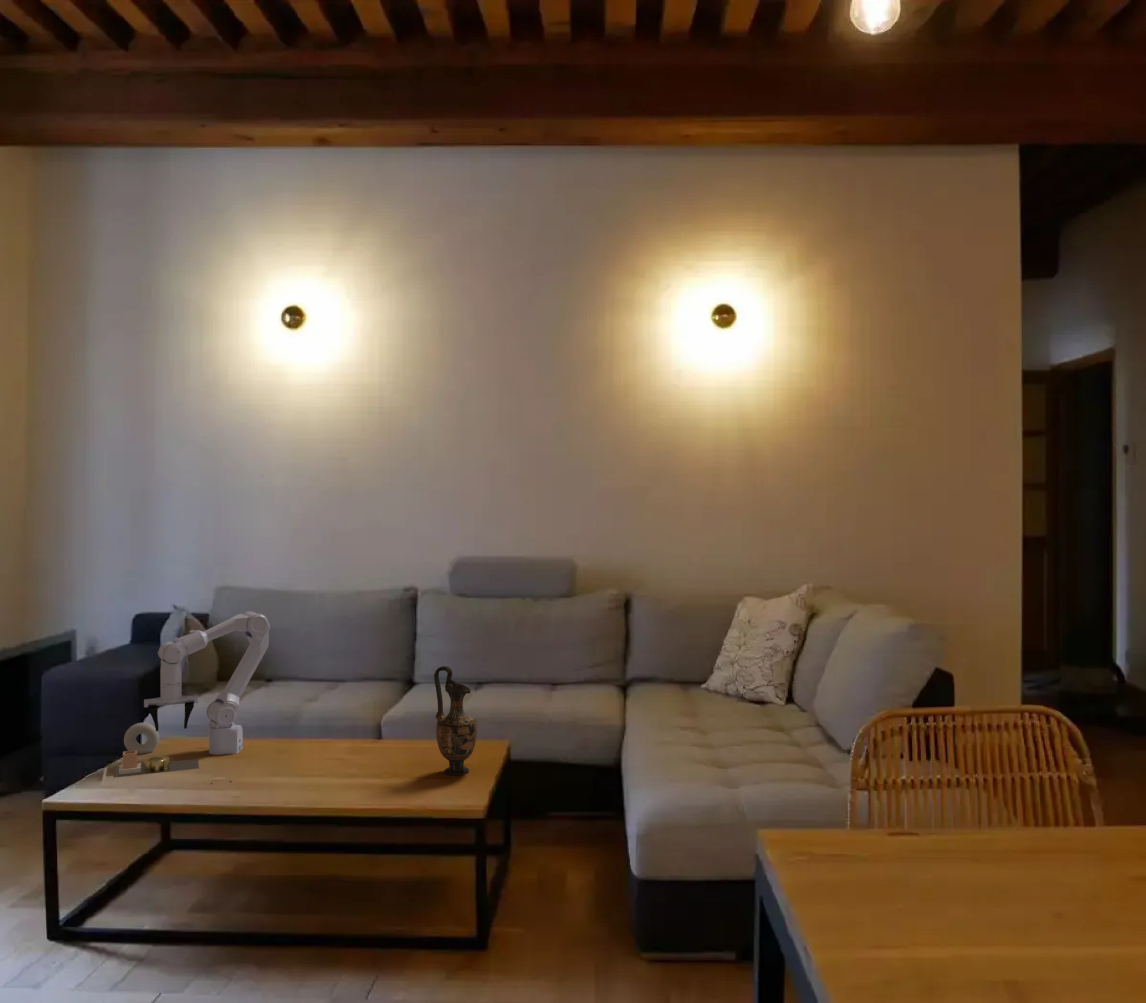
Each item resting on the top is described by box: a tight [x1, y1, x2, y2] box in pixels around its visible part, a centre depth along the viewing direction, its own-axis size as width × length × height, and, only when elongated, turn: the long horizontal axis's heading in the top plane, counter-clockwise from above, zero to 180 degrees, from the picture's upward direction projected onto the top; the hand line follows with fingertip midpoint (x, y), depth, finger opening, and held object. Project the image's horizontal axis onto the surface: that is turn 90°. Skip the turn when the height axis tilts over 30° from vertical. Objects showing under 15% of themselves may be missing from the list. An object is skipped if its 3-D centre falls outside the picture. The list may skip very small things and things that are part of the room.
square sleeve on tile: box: [118, 750, 142, 775], centre depth 267 cm, size 6×6×5 cm
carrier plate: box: [113, 755, 200, 779], centre depth 270 cm, size 22×10×4 cm, turn 114°
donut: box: [123, 722, 160, 755], centre depth 286 cm, size 10×4×10 cm, turn 102°
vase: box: [433, 665, 478, 776], centre depth 271 cm, size 12×12×30 cm
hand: (171, 729), depth 279 cm, fingers open, 7 cm apart
